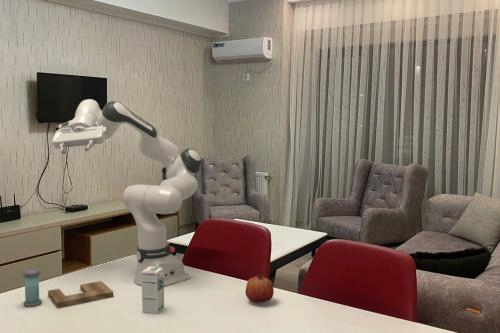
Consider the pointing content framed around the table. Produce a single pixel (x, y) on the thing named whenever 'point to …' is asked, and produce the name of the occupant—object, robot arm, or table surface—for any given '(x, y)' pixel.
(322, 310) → the table surface
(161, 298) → the syrup box
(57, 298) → the notched board
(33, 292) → the bobbin
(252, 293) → the fruit
